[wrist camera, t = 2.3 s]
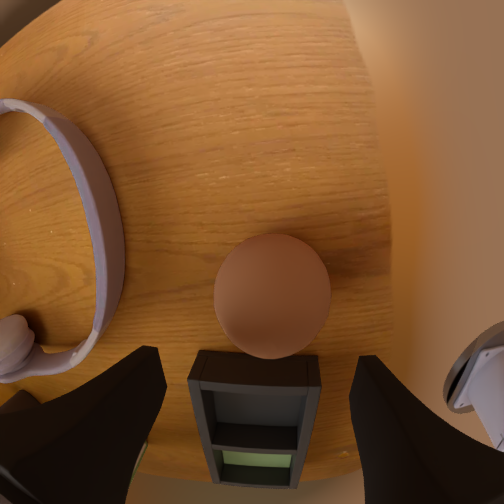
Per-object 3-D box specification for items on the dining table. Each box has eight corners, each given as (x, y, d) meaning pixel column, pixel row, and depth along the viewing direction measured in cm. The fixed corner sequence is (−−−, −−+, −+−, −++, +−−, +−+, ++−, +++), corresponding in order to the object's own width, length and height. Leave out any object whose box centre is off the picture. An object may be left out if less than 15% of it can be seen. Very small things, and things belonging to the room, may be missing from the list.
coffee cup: (5, 381, 26) (-31, 420, 17) (28, 382, 25) (-14, 430, 15) (37, 422, 28) (7, 462, 19) (64, 427, 27) (31, 476, 17)
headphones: (15, 345, 22) (169, 352, 21) (-20, 380, 16) (140, 419, 14) (-37, 146, 16) (109, 53, 14) (-86, 154, 9) (48, 20, 7)
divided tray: (317, 355, 18) (321, 386, 15) (297, 465, 23) (296, 489, 20) (198, 349, 19) (186, 379, 16) (218, 460, 24) (212, 483, 21)
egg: (337, 243, 16) (372, 302, 9) (297, 320, 18) (302, 404, 11) (247, 205, 16) (221, 241, 9) (215, 288, 17) (179, 361, 11)
